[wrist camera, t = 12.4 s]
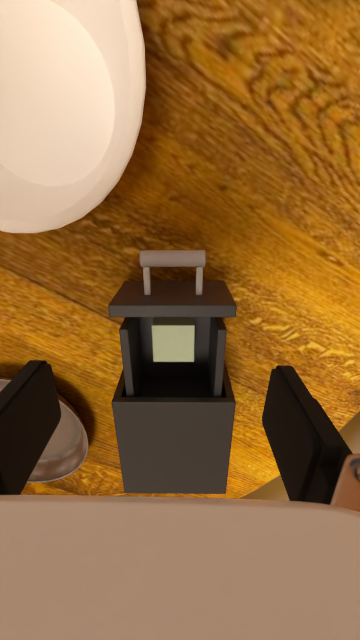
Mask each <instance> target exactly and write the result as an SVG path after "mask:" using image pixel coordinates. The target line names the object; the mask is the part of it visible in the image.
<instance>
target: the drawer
mask: <svg viewBox="0 0 360 640" xmlns="http://www.w3.org/2000/svg"><path fill="white" fill-rule="evenodd" d="M139 260H140V266H141V267H143V278H144V281H125V282H124V283H123V285H122V286H121V288H120V289H119V291H118V292H117V294H116V295H115V296H114V298H113V299H112V301H111V302H110V304H109V305H108V308H109V316H110V317H125V319H124V321H123V323H122V325H121V327H120V329H119V332H120V341H121V350H122V359H123V368H124V377H125V386H126V395H127V397H198V398H221V393H222V381H223V368H224V355H225V343H226V327H225V324H224V321H223V318H222V317H236V308H237V305H236V303H235V301H234V299H233V297H232V295H231V293H230V291H229V289H228V287H227V286H226V284H225V282H224V281H202V280H203V267H204V266H205V264H206V252H205V250H140V254H139ZM150 267H196V281H151V280H150ZM154 317H194V322H195V343H194V362H154V361H153V344H152V322H153V318H154Z"/></svg>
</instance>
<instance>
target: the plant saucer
mask: <svg viewBox="0 0 360 640" xmlns="http://www.w3.org/2000/svg"><path fill="white" fill-rule="evenodd" d="M12 379H13V378H10V377H0V392H1V391H2V390H3V389H4V387H5V386H6V385H7V384H8V383H9V382H10V381H11V380H12ZM57 395H58V400H59V404H60V409H61V419H60V422H59V424H58V426H57V428H56V429H55V431H54V433H53V435H52V437H51V439H50V440H49V442H48V444H47V446H46V448H45V450H44V451H43V453H42V455H41V457H40V459H39V461H38V462H37V464H36V466H35V468H34V470H33V472H32V473H31V475H30V477H29V479H28V481H27V482H33V483H39V482H49V481H54V480H58V479H61V478H64V477H66V476H68V475H70V474H72V473H73V472H74V471H76V470H77V469H78V468H79V467H80V466H81V465H82V463H83V462H84V460H85V458H86V456H87V452H88V438H87V433H86V430H85V427H84V424H83V422H82V420H81V418H80V417H79V415H78V413H77V412H76V411H75V409H74V408H73V407H72V406H71V405H70V404H69V403H68V402H67V401H66V400H65V399H64V398H63V397H62V396H60V395H59V394H58V393H57Z"/></svg>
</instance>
